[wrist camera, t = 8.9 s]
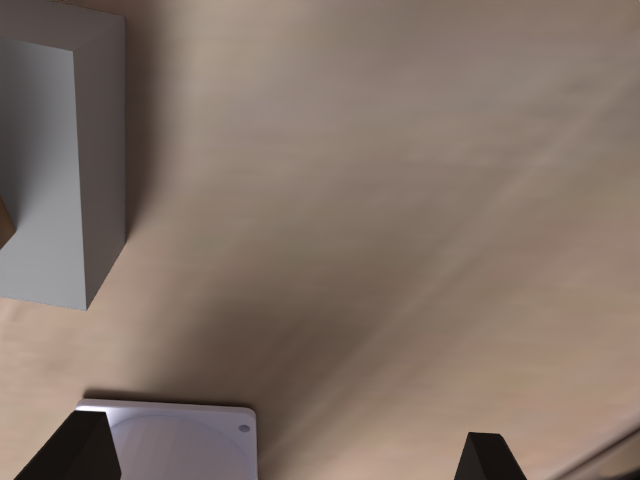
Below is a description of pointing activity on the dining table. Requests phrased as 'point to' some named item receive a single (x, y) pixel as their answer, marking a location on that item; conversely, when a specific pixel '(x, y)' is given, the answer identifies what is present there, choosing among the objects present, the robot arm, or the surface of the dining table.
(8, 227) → the walnut block
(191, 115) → the dining table surface
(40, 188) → the slate base block
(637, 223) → the dining table surface
